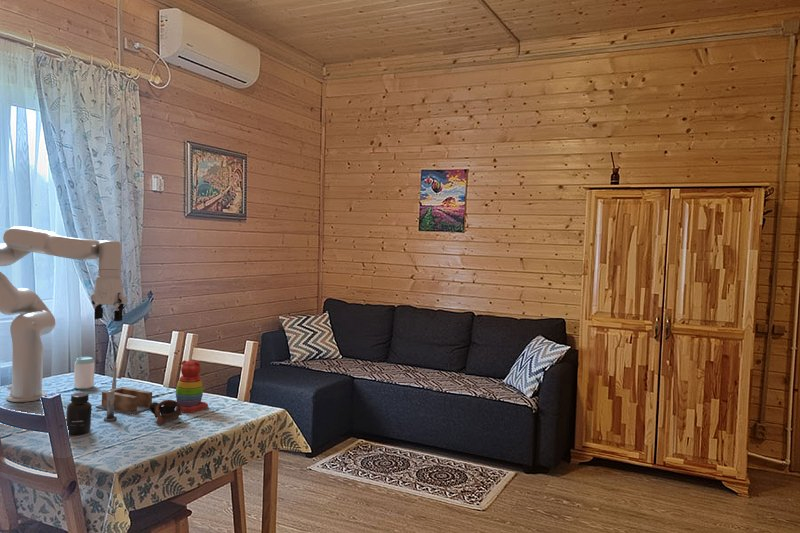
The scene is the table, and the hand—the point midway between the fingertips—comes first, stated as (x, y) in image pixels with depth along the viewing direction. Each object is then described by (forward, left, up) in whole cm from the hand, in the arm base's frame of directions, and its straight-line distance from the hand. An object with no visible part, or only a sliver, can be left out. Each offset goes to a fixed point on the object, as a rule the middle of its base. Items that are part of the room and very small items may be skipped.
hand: (108, 319), depth 219 cm
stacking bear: (+33, +7, -31) cm, 45 cm away
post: (+20, -16, -30) cm, 40 cm away
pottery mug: (+36, -8, -31) cm, 48 cm away
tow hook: (-4, +10, -31) cm, 32 cm away
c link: (+13, -3, -30) cm, 33 cm away
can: (-22, +9, -31) cm, 39 cm away
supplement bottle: (+22, -30, -31) cm, 48 cm away
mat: (+13, -2, -30) cm, 33 cm away
